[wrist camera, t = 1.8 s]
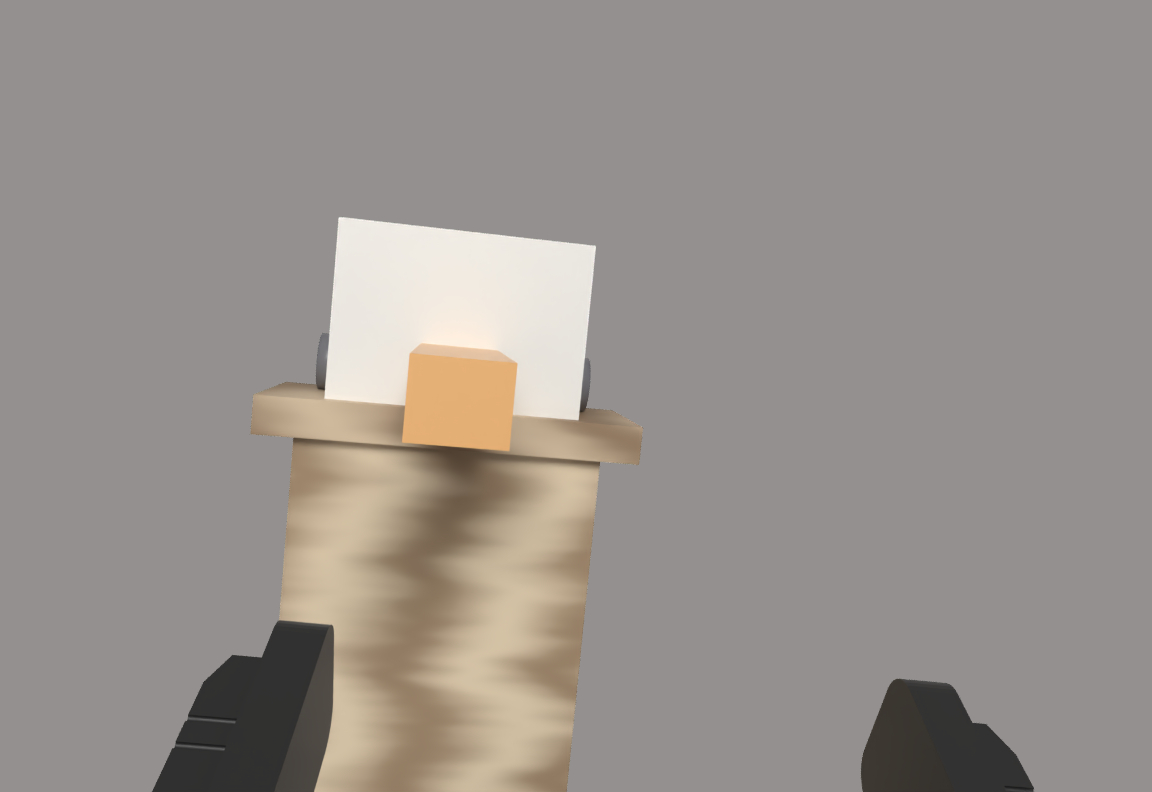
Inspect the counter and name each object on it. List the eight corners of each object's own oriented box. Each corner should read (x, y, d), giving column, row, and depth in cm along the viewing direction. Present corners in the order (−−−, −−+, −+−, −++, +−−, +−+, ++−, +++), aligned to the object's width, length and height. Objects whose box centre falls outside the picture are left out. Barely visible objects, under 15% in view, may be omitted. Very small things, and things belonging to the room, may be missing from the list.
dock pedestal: (547, 1048, 46) (612, 410, 44) (564, 1176, 39) (642, 427, 37) (234, 1052, 44) (285, 382, 42) (193, 1189, 37) (253, 394, 35)
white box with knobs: (579, 408, 43) (594, 257, 42) (657, 462, 27) (682, 219, 26) (322, 386, 41) (335, 228, 41) (241, 429, 25) (261, 169, 25)
